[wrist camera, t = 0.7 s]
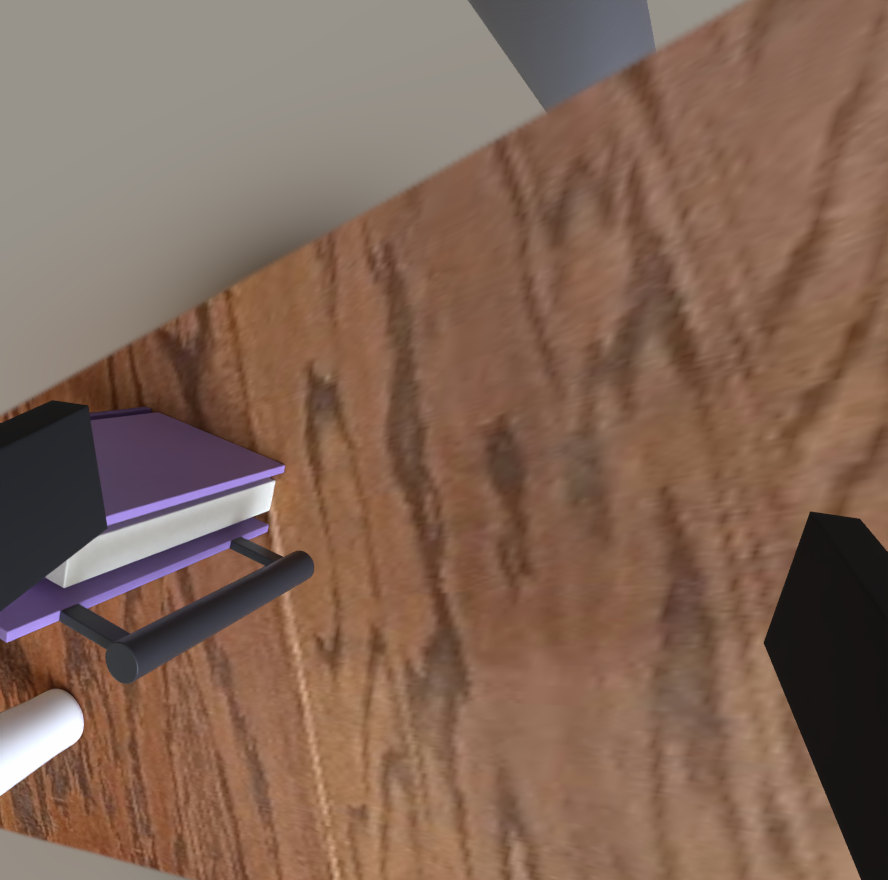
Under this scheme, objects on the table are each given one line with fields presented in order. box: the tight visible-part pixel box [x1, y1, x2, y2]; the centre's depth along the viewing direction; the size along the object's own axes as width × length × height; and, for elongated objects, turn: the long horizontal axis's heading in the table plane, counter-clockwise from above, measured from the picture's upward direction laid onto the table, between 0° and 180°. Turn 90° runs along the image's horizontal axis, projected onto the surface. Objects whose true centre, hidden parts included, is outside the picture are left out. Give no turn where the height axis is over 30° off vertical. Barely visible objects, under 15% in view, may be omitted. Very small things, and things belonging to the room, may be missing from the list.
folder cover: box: [0, 517, 314, 684], centre depth 38 cm, size 2×18×18 cm, turn 74°
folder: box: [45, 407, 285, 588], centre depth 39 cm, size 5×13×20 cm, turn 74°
